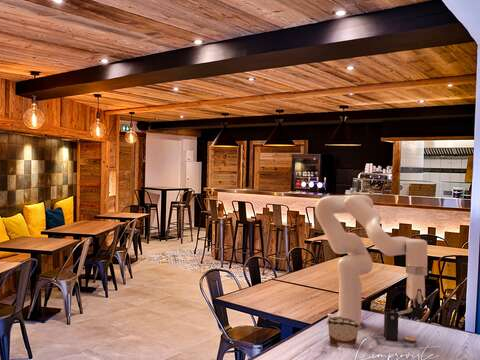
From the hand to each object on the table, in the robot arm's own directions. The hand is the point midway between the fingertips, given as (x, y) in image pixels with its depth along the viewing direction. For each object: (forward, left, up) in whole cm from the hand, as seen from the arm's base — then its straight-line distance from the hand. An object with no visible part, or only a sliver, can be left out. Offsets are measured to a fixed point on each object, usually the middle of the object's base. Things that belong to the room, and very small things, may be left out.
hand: (415, 315), depth 186 cm
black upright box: (-9, 0, -12) cm, 15 cm away
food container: (-28, -9, -12) cm, 32 cm away
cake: (-2, 0, -12) cm, 12 cm away
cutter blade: (-4, 0, -1) cm, 4 cm away
